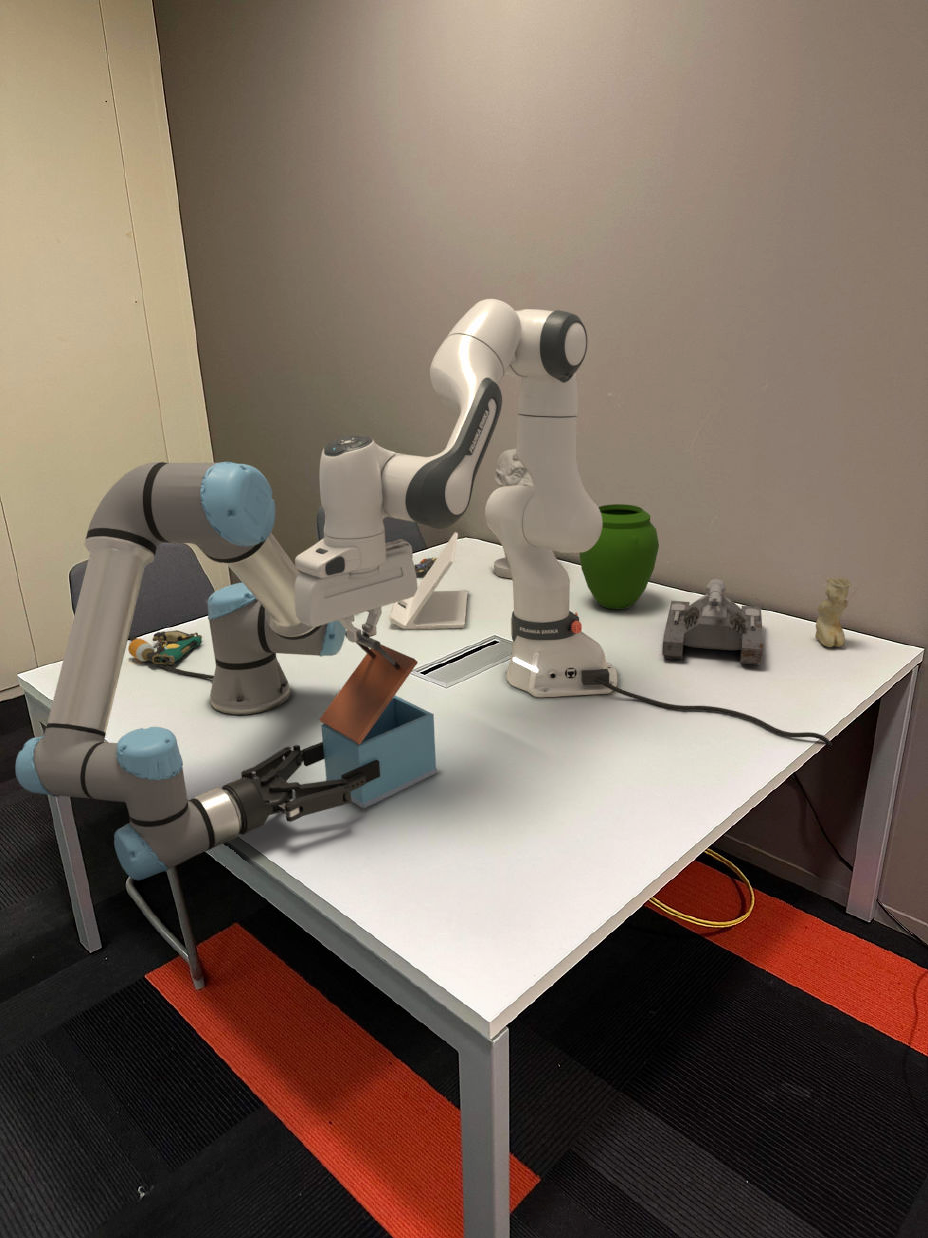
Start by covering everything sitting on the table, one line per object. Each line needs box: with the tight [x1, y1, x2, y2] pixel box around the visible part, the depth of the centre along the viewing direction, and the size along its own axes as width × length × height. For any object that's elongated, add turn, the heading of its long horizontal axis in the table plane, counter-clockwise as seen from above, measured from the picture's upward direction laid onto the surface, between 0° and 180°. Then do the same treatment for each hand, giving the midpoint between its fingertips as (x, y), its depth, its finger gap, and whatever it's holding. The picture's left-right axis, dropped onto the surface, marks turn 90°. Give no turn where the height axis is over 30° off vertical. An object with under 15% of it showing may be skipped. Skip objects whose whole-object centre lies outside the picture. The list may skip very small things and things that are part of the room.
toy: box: [661, 578, 764, 666], centre depth 186 cm, size 25×20×15 cm
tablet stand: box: [388, 531, 468, 630], centre depth 211 cm, size 18×25×17 cm
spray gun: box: [127, 630, 203, 666], centre depth 192 cm, size 4×17×15 cm
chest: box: [320, 694, 437, 810], centre depth 138 cm, size 15×10×11 cm
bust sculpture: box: [493, 448, 534, 579], centre depth 231 cm, size 16×24×35 cm
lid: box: [318, 630, 419, 745], centre depth 131 cm, size 15×10×8 cm
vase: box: [578, 503, 660, 610], centre depth 210 cm, size 20×20×24 cm
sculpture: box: [814, 576, 852, 648], centre depth 185 cm, size 6×7×15 cm
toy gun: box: [414, 557, 438, 574], centre depth 245 cm, size 3×19×10 cm
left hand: (357, 755), depth 135 cm, fingers closed on chest, 10 cm apart
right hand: (362, 638), depth 130 cm, fingers closed, pressing on lid
